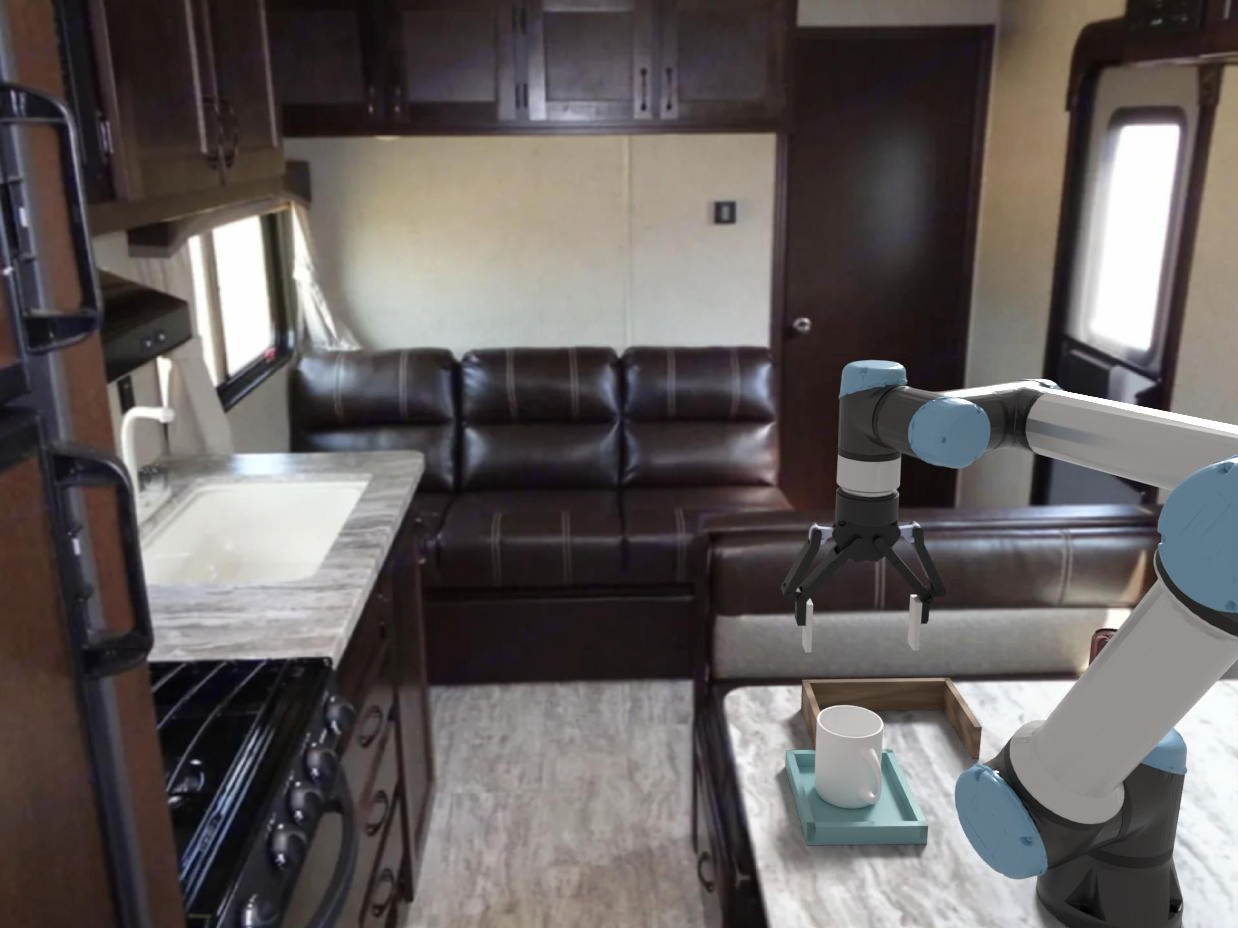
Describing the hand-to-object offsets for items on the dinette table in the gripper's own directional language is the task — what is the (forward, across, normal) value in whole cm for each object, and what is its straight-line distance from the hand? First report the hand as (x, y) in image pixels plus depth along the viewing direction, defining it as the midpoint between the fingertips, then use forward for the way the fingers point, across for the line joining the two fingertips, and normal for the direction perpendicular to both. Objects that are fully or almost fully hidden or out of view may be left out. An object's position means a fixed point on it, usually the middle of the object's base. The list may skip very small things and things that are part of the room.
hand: (859, 647), depth 132 cm
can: (+23, -43, -21) cm, 53 cm away
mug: (+22, 0, 0) cm, 22 cm away
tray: (+23, 0, 0) cm, 23 cm away
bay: (+23, -9, -18) cm, 30 cm away
